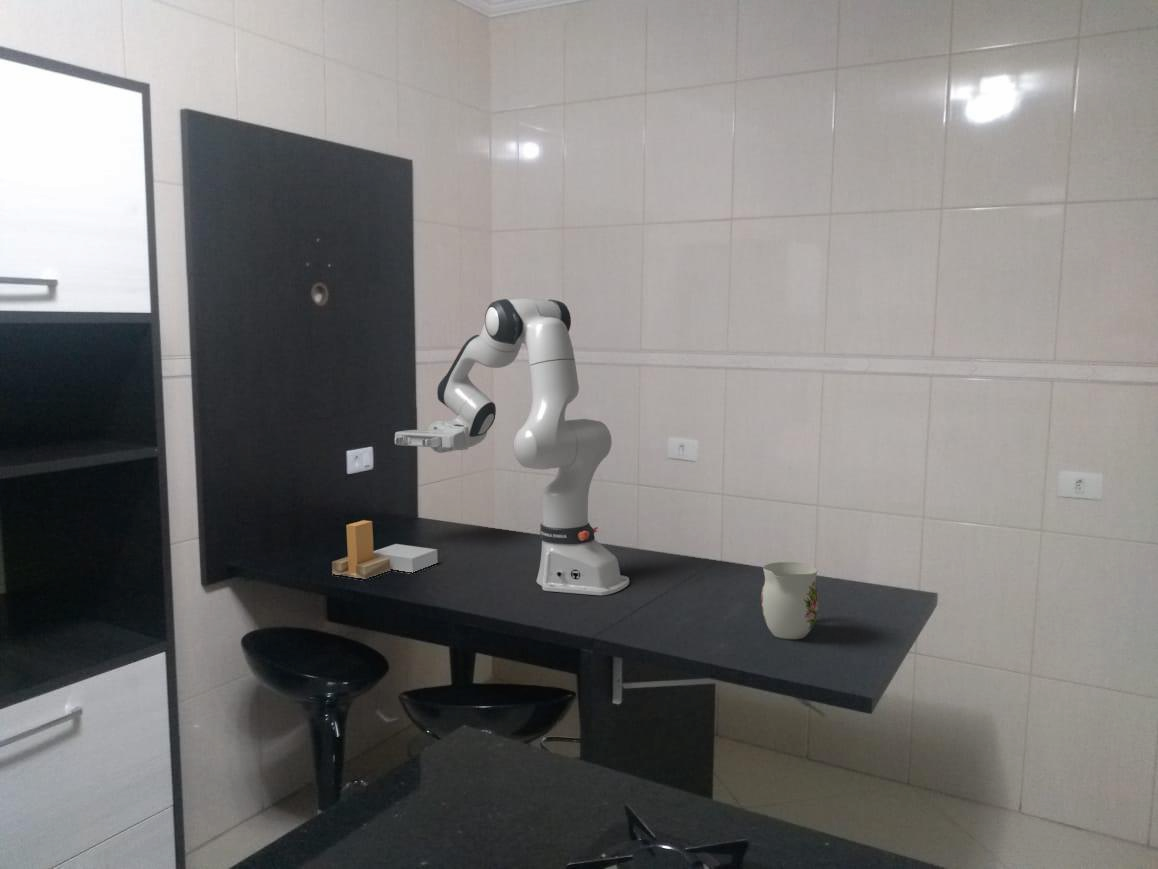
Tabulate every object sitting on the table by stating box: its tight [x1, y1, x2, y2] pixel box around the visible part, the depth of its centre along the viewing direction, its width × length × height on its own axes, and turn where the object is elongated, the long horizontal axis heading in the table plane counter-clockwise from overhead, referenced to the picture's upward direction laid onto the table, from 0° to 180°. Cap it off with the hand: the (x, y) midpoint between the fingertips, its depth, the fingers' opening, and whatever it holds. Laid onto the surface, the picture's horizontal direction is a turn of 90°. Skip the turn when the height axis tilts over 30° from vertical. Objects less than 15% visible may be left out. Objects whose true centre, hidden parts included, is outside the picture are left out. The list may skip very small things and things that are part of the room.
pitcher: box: [760, 561, 820, 640], centre depth 173 cm, size 11×18×14 cm, turn 152°
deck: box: [373, 543, 439, 573], centre depth 228 cm, size 14×10×4 cm
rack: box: [331, 556, 391, 579], centre depth 221 cm, size 11×9×4 cm
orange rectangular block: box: [345, 519, 375, 573], centre depth 220 cm, size 3×6×12 cm, turn 151°
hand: (410, 442), depth 229 cm, fingers open, 8 cm apart
